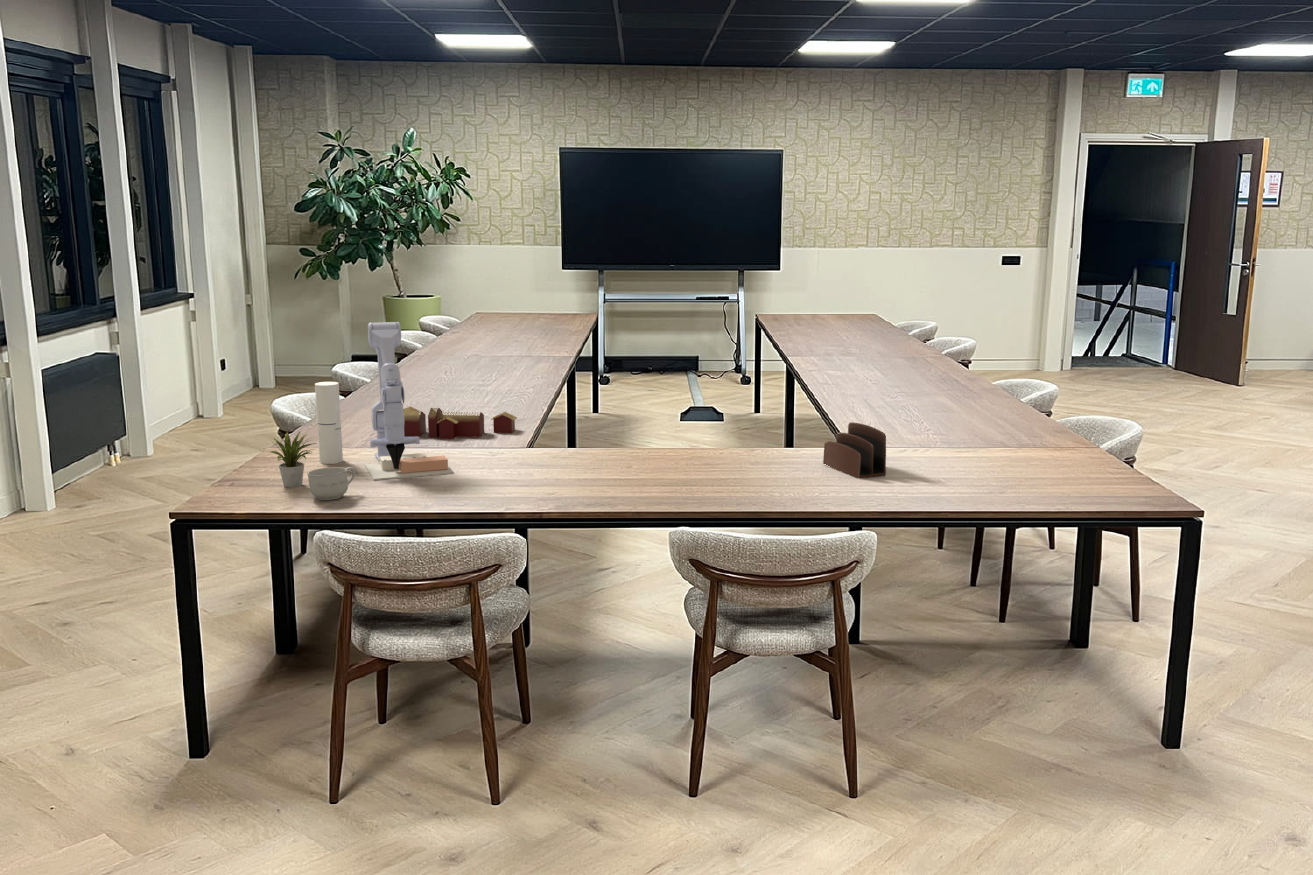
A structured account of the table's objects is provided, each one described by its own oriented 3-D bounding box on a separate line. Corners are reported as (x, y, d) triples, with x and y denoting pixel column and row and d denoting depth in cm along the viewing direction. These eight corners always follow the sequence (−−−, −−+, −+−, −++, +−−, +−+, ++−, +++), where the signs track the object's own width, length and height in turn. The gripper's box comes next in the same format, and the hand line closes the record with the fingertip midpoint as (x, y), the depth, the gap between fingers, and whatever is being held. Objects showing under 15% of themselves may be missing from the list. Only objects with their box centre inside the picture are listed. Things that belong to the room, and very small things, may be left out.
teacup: (316, 505, 310) (315, 476, 308) (303, 496, 318) (301, 468, 317) (365, 497, 318) (364, 469, 316) (351, 489, 327) (349, 462, 325)
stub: (398, 468, 347) (398, 459, 347) (444, 464, 352) (443, 455, 352) (401, 472, 342) (401, 463, 342) (448, 468, 347) (447, 459, 347)
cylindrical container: (316, 460, 360) (311, 383, 355) (337, 457, 364) (333, 380, 359) (324, 464, 355) (319, 386, 349) (346, 461, 359) (342, 384, 353)
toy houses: (380, 438, 393) (379, 410, 391) (397, 426, 413) (395, 399, 411) (509, 441, 391) (508, 412, 389) (519, 428, 411) (518, 401, 409)
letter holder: (848, 462, 362) (850, 419, 359) (886, 476, 345) (888, 431, 342) (822, 465, 358) (824, 421, 355) (858, 479, 341) (860, 433, 338)
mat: (364, 466, 353) (364, 464, 353) (441, 459, 362) (441, 458, 362) (373, 480, 336) (373, 478, 336) (454, 473, 345) (454, 471, 345)
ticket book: (379, 466, 351) (379, 456, 351) (424, 462, 357) (424, 452, 356) (382, 470, 346) (382, 460, 345) (428, 466, 351) (428, 456, 351)
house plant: (302, 494, 321) (298, 437, 317) (257, 491, 324) (253, 435, 320) (326, 481, 335) (323, 427, 331) (283, 479, 337) (279, 425, 334)
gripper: (371, 428, 335) (373, 473, 338) (420, 425, 340) (422, 469, 343) (368, 424, 341) (370, 468, 344) (416, 420, 347) (418, 464, 350)
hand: (396, 468), depth 344 cm, fingers closed
